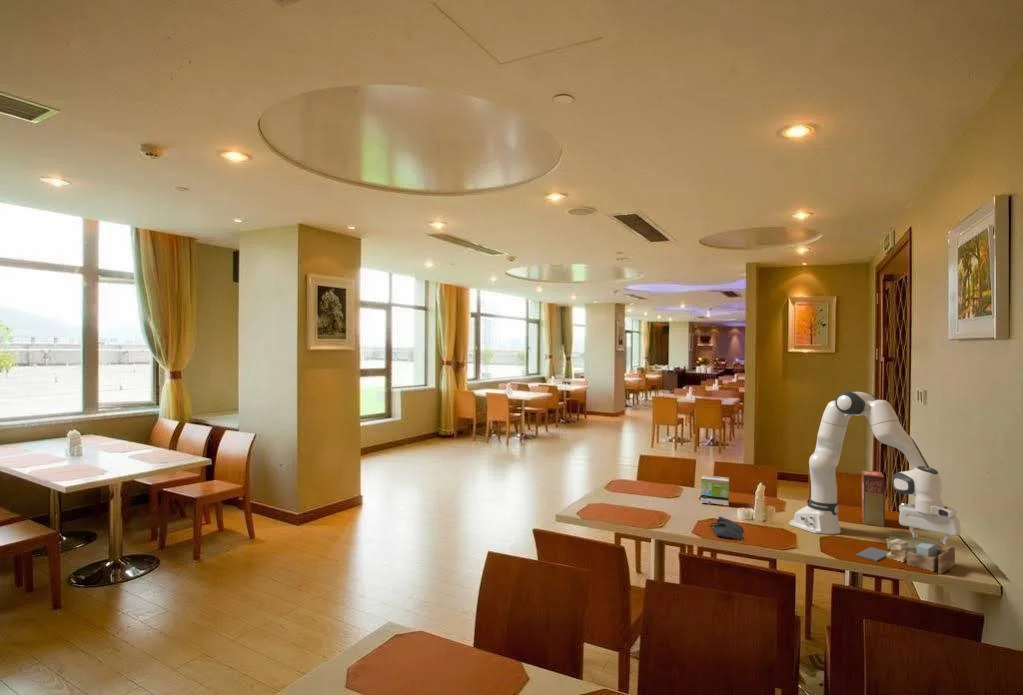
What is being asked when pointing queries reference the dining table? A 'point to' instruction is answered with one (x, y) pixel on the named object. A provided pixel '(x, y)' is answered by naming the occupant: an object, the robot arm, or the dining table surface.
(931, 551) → the light blue rectangular block
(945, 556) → the rack
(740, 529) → the dark slate chunk
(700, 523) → the dining table surface
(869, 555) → the mat
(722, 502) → the tea box
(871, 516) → the food packaging
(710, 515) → the dining table surface
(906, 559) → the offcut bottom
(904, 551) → the offcut middle
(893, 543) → the offcut top
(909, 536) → the decorative tile
